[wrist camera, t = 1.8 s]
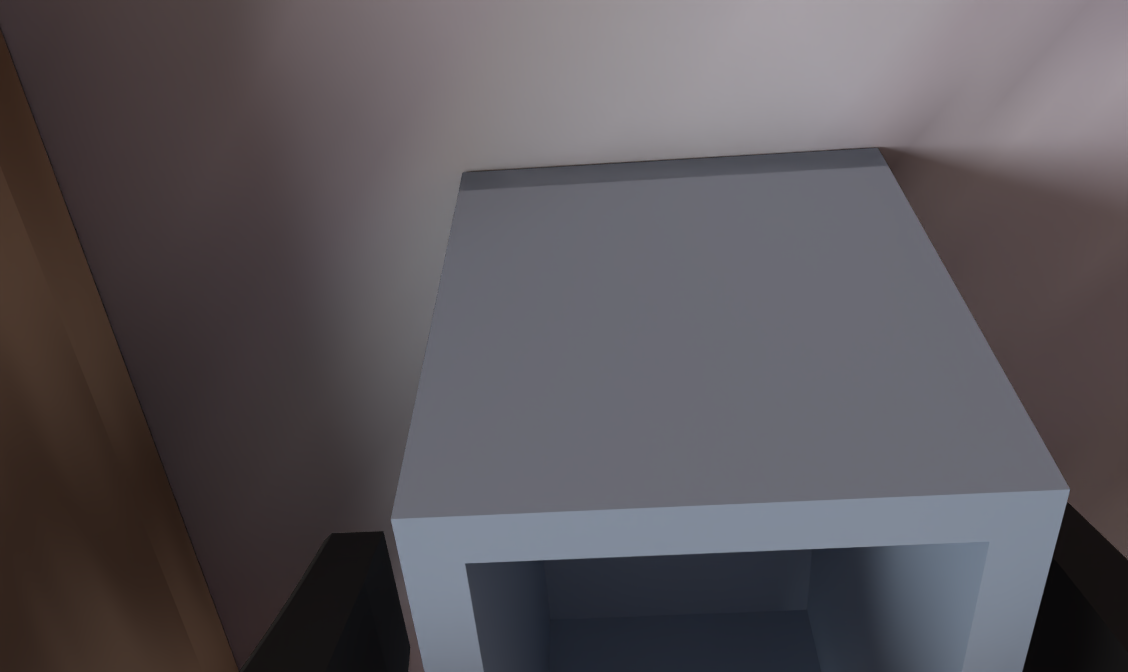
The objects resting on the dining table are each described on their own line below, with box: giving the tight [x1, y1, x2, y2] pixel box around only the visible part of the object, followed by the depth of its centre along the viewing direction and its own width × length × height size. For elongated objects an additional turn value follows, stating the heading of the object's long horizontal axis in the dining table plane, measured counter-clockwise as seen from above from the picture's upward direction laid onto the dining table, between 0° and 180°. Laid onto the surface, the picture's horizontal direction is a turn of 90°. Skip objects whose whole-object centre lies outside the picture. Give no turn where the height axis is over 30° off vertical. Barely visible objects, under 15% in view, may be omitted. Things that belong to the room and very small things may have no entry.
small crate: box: [391, 148, 1070, 672], centre depth 13 cm, size 8×5×6 cm, turn 4°
